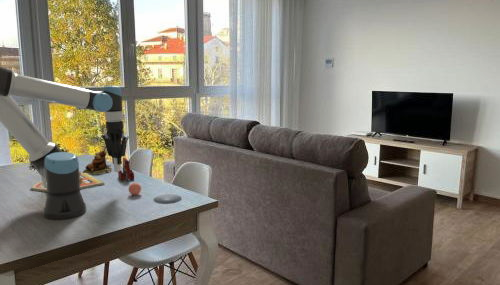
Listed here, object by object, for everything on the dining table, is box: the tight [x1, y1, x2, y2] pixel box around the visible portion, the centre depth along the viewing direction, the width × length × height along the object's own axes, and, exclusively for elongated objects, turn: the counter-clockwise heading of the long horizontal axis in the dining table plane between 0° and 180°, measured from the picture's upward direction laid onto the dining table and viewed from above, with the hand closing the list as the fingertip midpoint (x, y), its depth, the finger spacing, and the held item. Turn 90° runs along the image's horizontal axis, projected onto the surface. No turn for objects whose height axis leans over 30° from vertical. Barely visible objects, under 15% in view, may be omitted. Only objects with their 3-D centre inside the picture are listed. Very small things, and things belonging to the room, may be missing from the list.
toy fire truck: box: [117, 157, 135, 182], centre depth 197 cm, size 7×12×10 cm, turn 27°
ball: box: [128, 182, 142, 196], centre depth 172 cm, size 6×6×6 cm
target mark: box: [153, 193, 182, 204], centre depth 167 cm, size 12×12×1 cm
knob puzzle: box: [31, 170, 105, 193], centre depth 187 cm, size 29×30×4 cm
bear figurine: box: [82, 149, 113, 175], centre depth 211 cm, size 14×15×12 cm
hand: (117, 171), depth 174 cm, fingers closed
